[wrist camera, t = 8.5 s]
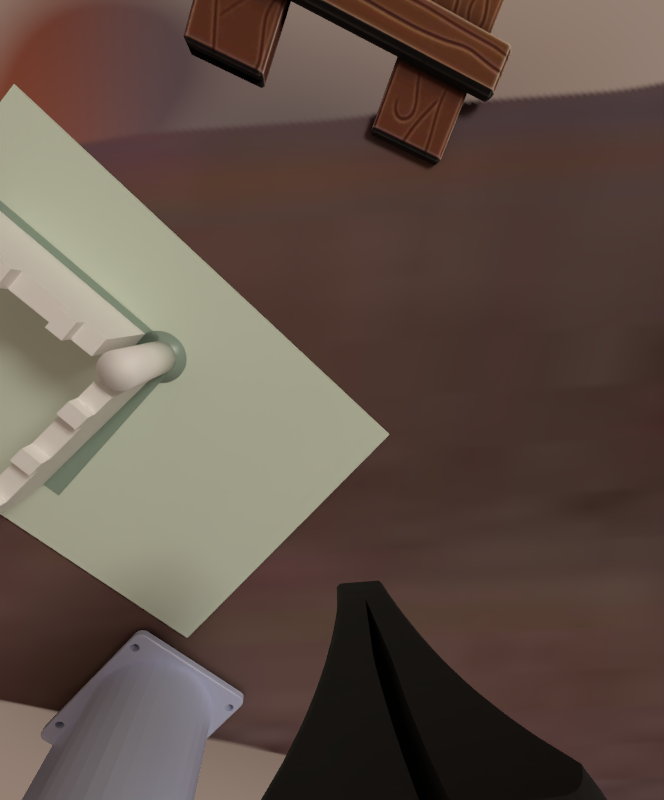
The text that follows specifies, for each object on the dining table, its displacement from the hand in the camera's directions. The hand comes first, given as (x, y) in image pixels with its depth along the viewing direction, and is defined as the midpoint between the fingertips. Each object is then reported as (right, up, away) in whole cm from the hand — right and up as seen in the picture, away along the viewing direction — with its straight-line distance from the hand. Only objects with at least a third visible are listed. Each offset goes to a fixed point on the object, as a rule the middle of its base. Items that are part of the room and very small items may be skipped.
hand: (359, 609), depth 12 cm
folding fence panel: (-13, +5, +7) cm, 16 cm away
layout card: (-12, +6, +8) cm, 15 cm away
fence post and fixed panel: (-12, +11, +6) cm, 18 cm away
